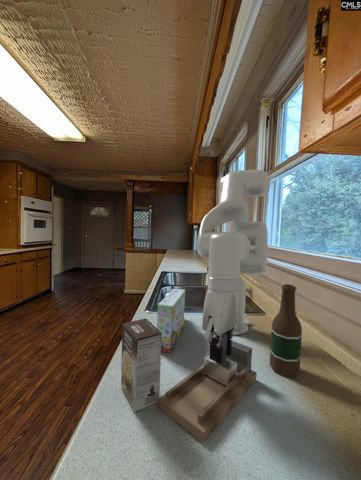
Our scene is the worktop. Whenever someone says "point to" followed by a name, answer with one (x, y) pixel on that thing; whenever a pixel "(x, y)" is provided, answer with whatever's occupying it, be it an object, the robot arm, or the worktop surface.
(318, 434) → the worktop surface
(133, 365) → the coffee box
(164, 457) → the worktop surface
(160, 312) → the snack box
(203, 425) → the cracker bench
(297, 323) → the beer bottle
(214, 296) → the robot arm
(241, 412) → the worktop surface
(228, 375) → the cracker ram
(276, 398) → the worktop surface
